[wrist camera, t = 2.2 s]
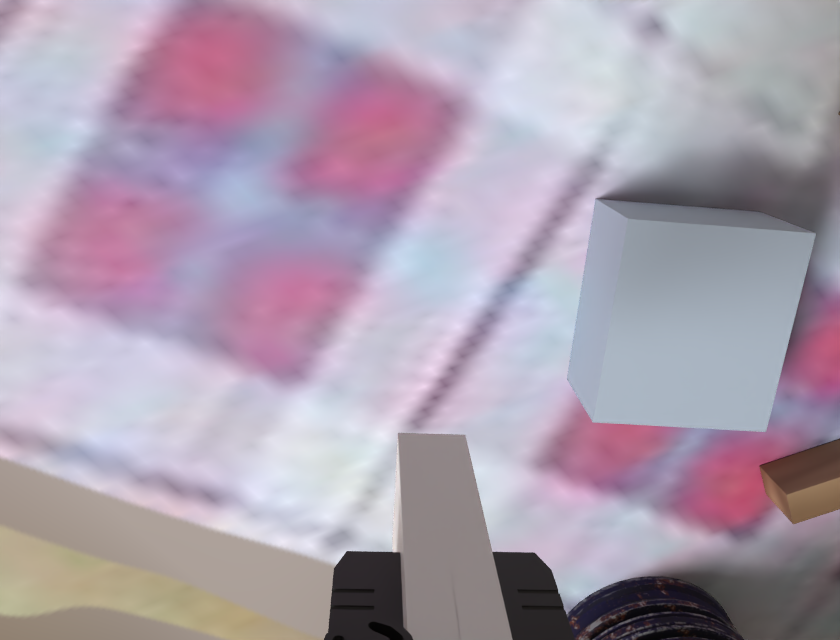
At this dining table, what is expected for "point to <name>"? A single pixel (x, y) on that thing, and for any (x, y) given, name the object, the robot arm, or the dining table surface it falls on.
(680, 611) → the storage jar
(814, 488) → the brown angular open frame
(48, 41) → the dining table surface
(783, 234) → the grey rectangular block
